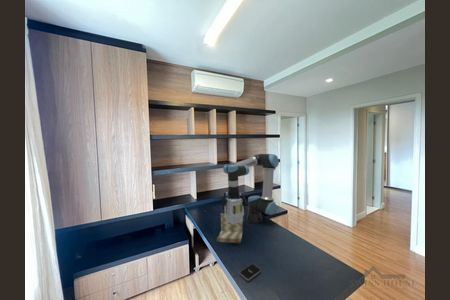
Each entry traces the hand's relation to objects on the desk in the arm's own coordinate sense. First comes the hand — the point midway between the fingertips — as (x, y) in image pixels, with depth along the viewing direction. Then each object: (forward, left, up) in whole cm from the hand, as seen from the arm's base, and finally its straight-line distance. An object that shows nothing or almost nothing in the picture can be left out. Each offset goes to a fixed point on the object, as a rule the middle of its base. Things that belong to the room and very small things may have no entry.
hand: (234, 214), depth 123 cm
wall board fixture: (+5, -9, -22) cm, 24 cm away
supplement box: (0, 0, -5) cm, 5 cm away
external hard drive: (-13, +27, -23) cm, 38 cm away
